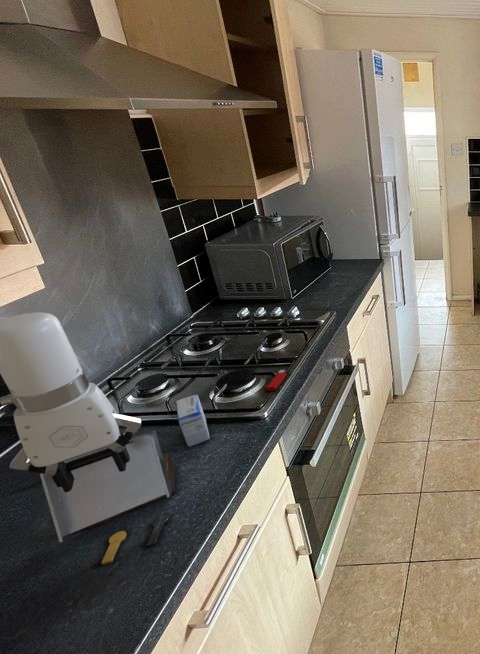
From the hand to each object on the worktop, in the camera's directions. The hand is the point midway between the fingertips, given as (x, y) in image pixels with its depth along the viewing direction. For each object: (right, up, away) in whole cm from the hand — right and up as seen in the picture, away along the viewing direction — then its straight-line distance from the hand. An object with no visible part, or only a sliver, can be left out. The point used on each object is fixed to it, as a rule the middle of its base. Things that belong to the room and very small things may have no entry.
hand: (97, 475), depth 71 cm
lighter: (+3, +3, +49) cm, 49 cm away
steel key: (+4, -15, +8) cm, 17 cm away
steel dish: (-3, -4, +6) cm, 8 cm away
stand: (-7, -12, +14) cm, 20 cm away
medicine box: (-6, -5, +30) cm, 31 cm away
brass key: (-2, -16, +5) cm, 17 cm away
